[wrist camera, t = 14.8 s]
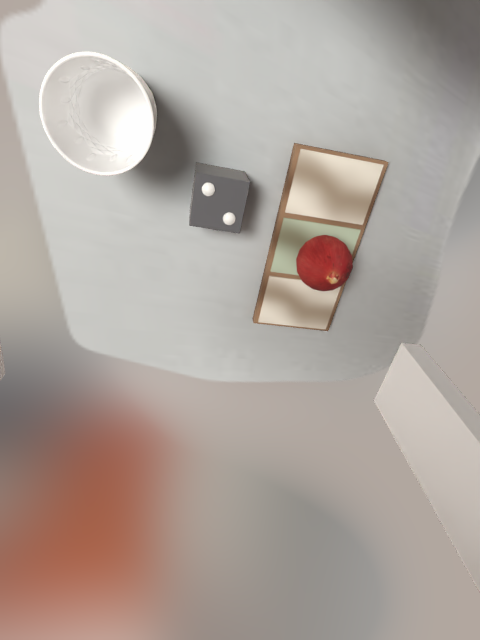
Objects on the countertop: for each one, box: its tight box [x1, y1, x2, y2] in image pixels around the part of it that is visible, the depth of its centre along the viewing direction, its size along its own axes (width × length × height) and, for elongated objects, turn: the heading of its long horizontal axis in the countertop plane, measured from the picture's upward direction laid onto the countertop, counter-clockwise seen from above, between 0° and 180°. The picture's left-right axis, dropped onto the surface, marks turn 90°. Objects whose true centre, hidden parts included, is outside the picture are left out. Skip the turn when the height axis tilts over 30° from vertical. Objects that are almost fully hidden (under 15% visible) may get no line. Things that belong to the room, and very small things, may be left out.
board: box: [253, 143, 389, 331], centre depth 45 cm, size 21×10×1 cm, turn 169°
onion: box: [296, 235, 353, 291], centre depth 41 cm, size 6×6×8 cm
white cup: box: [39, 52, 157, 176], centre depth 32 cm, size 8×8×10 cm
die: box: [189, 162, 250, 233], centre depth 39 cm, size 5×5×5 cm
